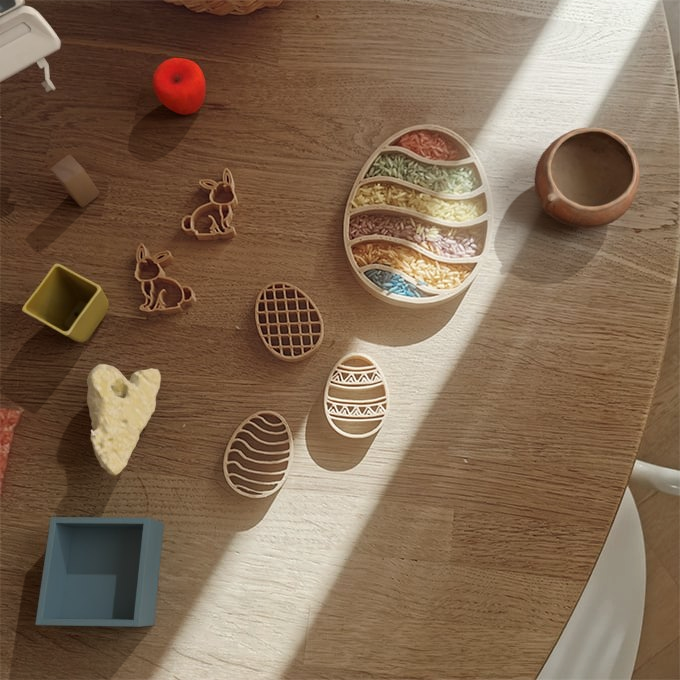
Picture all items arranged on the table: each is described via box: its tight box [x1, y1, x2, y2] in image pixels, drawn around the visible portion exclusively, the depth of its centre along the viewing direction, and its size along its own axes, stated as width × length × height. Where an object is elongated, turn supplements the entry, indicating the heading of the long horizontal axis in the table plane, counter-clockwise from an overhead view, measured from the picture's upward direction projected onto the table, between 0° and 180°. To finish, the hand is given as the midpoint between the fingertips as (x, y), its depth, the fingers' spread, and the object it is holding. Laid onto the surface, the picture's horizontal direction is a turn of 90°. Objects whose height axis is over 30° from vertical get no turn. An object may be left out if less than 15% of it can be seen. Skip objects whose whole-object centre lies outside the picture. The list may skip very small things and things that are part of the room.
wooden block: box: [50, 154, 101, 208], centre depth 120 cm, size 4×4×8 cm
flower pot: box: [21, 263, 110, 343], centre depth 112 cm, size 9×9×9 cm
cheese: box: [86, 363, 162, 476], centre depth 107 cm, size 15×7×15 cm
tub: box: [34, 516, 165, 628], centre depth 99 cm, size 14×14×7 cm
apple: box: [152, 57, 207, 116], centre depth 125 cm, size 9×9×8 cm
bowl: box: [534, 126, 641, 229], centre depth 114 cm, size 16×16×10 cm
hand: (25, 106), depth 115 cm, fingers open, 8 cm apart
